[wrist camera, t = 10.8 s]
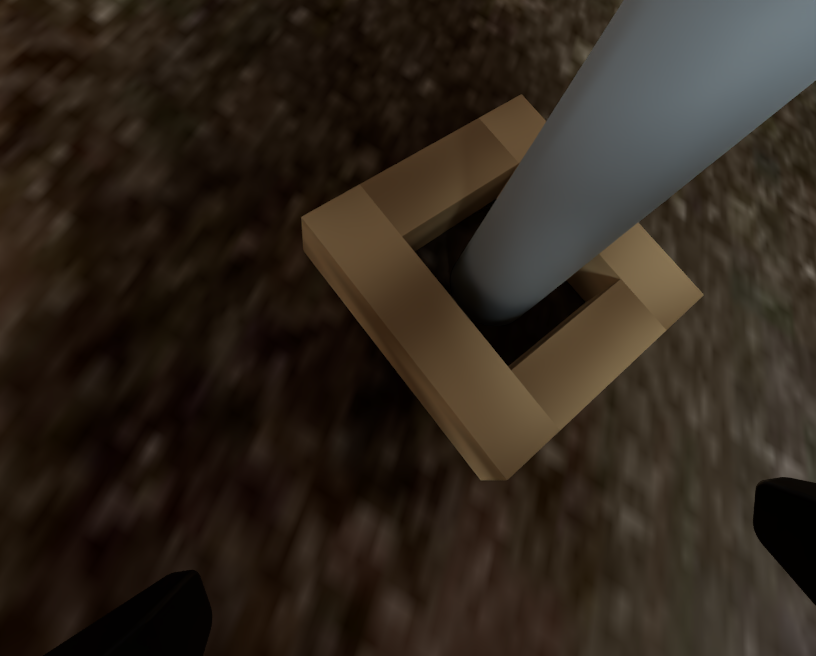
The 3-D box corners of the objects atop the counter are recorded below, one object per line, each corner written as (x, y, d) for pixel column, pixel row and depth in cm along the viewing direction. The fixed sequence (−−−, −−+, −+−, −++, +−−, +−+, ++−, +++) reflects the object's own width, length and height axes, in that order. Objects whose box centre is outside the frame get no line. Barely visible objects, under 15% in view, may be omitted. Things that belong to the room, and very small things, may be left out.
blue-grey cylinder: (541, 316, 19) (1264, -206, 5) (464, 334, 18) (1049, -244, 4) (514, 242, 20) (1046, -397, 5) (439, 255, 19) (833, -464, 5)
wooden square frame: (659, 315, 20) (704, 294, 18) (480, 480, 17) (507, 480, 14) (499, 135, 22) (521, 93, 20) (303, 250, 18) (301, 217, 16)
